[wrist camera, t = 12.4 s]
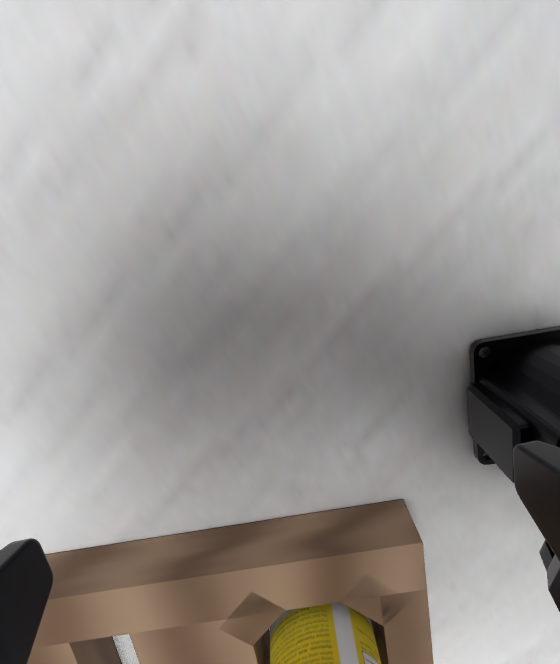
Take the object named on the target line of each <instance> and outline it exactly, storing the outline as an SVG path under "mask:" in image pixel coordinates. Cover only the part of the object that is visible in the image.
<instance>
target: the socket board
mask: <svg viewBox="0 0 560 664" xmlns="http://www.w3.org/2000/svg"><path fill="white" fill-rule="evenodd" d="M45 556H46V558H47V560H48V562H49V565H50V567H51V569H52V572H53V585H52V588H51V592H50V595H49V598H48V601H47V604H46V607H45V610H44V613H43V616H42V619H41V622H40V625H39V629H38V632H37V635H36V638H35V641H34V644H33V647H32V650H31V653H30V656H29V659H28V662H27V664H121V661H120V658H119V655H118V653H117V650H116V647H115V645H114V642H113V639H112V637H111V636H117V635H124V634H129V635H130V637H131V640H132V643H133V646H134V649H135V652H136V654H137V657H138V660H139V663H140V664H270V631H268V629H269V627H270V626H271V625H272V624H273V623H274V622H275V621H276V620H277V619H278V618H279V616H280V615H281V614H282V613H283V612H284V611H285V610H291V609H298V608H305V607H311V606H318V605H325V604H331V603H338V602H341V603H343V604H345V605H347V606H348V607H350V608H352V609H354V610H355V611H357V612H359V613H361V614H363V615H364V616H366V617H368V618H370V619H371V623H372V627H373V631H374V636H375V640H376V644H377V648H378V652H379V656H380V660H381V664H433V653H432V642H431V631H430V619H429V608H428V597H427V585H426V574H425V563H424V551H423V542H422V540H421V538H420V535H419V533H418V531H417V529H416V527H415V525H414V522H413V520H412V518H411V516H410V514H409V511H408V509H407V507H406V505H405V503H404V501H403V499H401V500H395V501H388V502H382V503H375V504H369V505H362V506H356V507H349V508H343V509H337V510H330V511H324V512H317V513H311V514H304V515H298V516H292V517H285V518H279V519H272V520H266V521H259V522H253V523H247V524H240V525H234V526H227V527H221V528H214V529H208V530H202V531H195V532H189V533H182V534H176V535H169V536H163V537H157V538H150V539H144V540H137V541H131V542H124V543H118V544H112V545H105V546H99V547H92V548H86V549H79V550H73V551H66V552H60V553H54V554H47V555H45Z"/></svg>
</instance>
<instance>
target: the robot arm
mask: <svg viewBox="0 0 560 664" xmlns="http://www.w3.org/2000/svg"><path fill="white" fill-rule="evenodd" d="M483 347H486V350H485V352H484V353H483V354H481V355H479V351H480V349H481V348H483ZM470 369H471V384H470V385H469V387H468V388H467V403H468V424H469V434H470V435H471V436H472V438H473V439H474V454H475V457H476V458H477V459H478V460H479V462H480V463H482V464H484V465H489V464H495V463H496V464H497V466H498V467H499V468H500V469H501V470H502V471H503V472H504V473H505V475H506V476H507V477H508V478H509V479H510V480H511V481H512V482H513V483H515V487H516V490H517V493H518V495H519V497H520V499H521V500H522V502H523V504H524V505H525V507H526V508H527V510H528V512H529V513H530V515H531V517H532V518H533V520H534V521H535V523H536V525H537V526H538V528H539V530H540V531H541V533H542V534H543V536H544V538H545V539H546V540H545V542H544V544H543V546H542V548H541V550H540V555H541V558H542V560H543V563H544V566H545V568H546V571H547V579H548V590H549V592H550V594H551V596H552V598H553V600H554V602H555V604H556V606H557V608H558V610H559V612H560V326H559V327H553V328H547V329H541V330H535V331H528V332H522V333H516V334H510V335H504V336H498V337H492V338H486V339H480V340H477V341H475V342H474V343H473V344H472V345H471V347H470ZM485 452H486V453H487V455H485V456H483V454H484V453H485ZM52 585H53V572H52V569H51V567H50V565H49V562H48V560H47V558H46V556H45V554H44V551H43V549H42V547H41V545H40V543H39V542H38V541H37V540H36V539H32V538H31V539H25V540H20V541H15V542H12V543H10V544H8V545H7V546H6V547H4V548H3V549H1V550H0V664H27V662H28V659H29V656H30V653H31V650H32V647H33V644H34V641H35V638H36V635H37V632H38V629H39V625H40V622H41V619H42V616H43V613H44V610H45V607H46V604H47V601H48V598H49V595H50V592H51V588H52Z"/></svg>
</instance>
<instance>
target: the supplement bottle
mask: <svg viewBox="0 0 560 664" xmlns="http://www.w3.org/2000/svg"><path fill="white" fill-rule="evenodd" d="M270 664H381V660H380V656H379V652H378V648H377V644H376V640H375V636H374V631H373V627H372V623H371V619H370V618H368V617H366V616H364V615H363V614H361V613H359V612H357V611H355V610H354V609H352V608H350V607H348V606H347V605H345V604H343V603H341V602H338V603H331V604H325V605H318V606H311V607H305V608H298V609H291V610H285V611H284V612H283V613H282V614H281V615H280V616H279V618H278V619H277V620H276V621H275V622H274V623H273V624H272V625H271V626H270Z"/></svg>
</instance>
